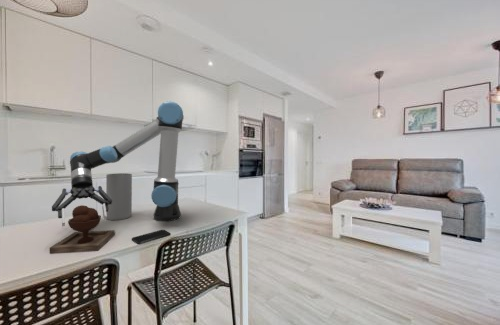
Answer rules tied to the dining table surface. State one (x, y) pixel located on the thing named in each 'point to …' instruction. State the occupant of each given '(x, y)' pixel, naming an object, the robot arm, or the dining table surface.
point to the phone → (150, 237)
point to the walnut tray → (72, 246)
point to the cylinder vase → (119, 195)
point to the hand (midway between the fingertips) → (85, 221)
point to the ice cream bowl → (84, 222)
